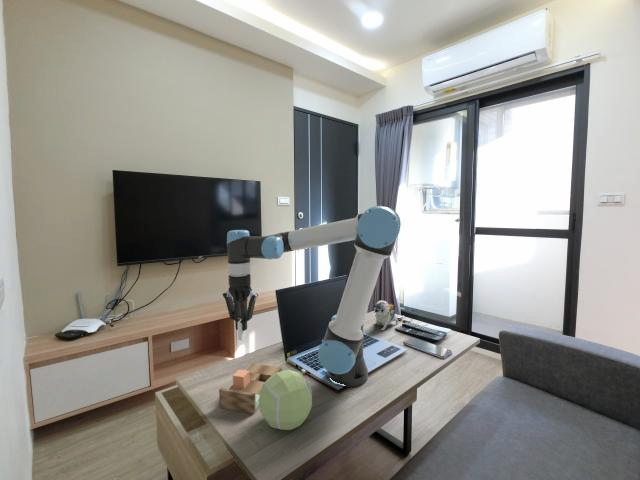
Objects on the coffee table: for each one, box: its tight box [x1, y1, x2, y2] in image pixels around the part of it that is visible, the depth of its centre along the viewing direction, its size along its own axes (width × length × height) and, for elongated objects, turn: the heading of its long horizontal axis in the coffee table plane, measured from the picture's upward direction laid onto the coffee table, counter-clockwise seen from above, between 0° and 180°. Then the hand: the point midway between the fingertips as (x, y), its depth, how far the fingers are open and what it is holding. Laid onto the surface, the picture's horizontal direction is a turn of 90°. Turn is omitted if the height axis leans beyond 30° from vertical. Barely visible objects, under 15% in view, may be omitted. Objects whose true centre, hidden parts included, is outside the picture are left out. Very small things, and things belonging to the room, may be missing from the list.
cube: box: [232, 369, 250, 388], centre depth 104 cm, size 4×4×4 cm
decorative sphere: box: [258, 369, 313, 431], centre depth 89 cm, size 15×15×15 cm
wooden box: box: [218, 363, 283, 415], centre depth 106 cm, size 12×22×6 cm, turn 165°
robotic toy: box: [373, 300, 400, 331], centre depth 160 cm, size 13×17×15 cm
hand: (241, 338), depth 110 cm, fingers closed
